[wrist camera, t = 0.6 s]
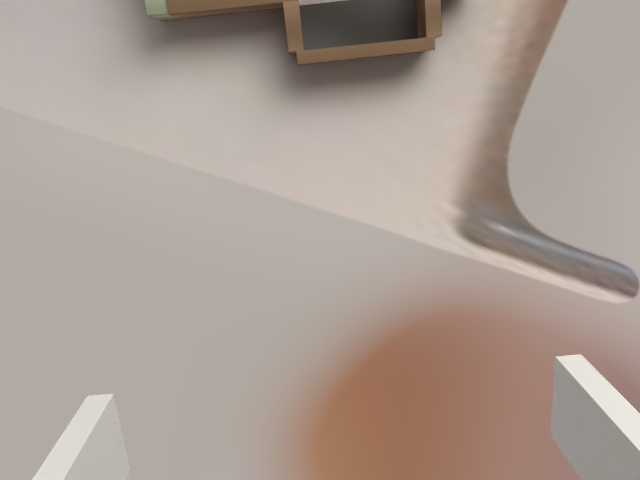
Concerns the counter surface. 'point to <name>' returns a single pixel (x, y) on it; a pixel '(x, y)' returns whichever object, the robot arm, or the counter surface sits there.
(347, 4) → the box
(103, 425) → the robot arm
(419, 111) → the counter surface
